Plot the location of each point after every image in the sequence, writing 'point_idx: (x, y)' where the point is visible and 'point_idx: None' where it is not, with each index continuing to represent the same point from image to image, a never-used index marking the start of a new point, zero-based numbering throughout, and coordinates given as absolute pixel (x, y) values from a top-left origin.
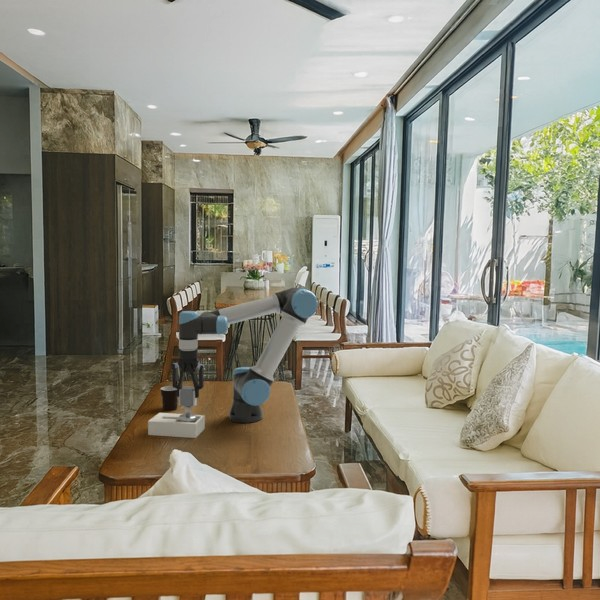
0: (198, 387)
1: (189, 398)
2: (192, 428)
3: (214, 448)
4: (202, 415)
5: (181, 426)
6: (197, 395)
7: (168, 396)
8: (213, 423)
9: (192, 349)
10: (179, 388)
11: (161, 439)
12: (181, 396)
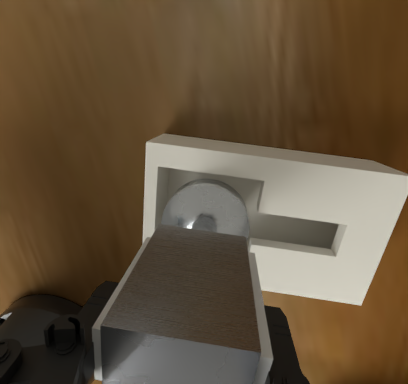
0: (30, 370)
1: (163, 259)
2: (169, 141)
3: (49, 2)
4: None
5: (223, 148)
6: (95, 297)
7: None
8: None
9: None
10: (275, 378)
11: (305, 105)
12: (238, 280)
